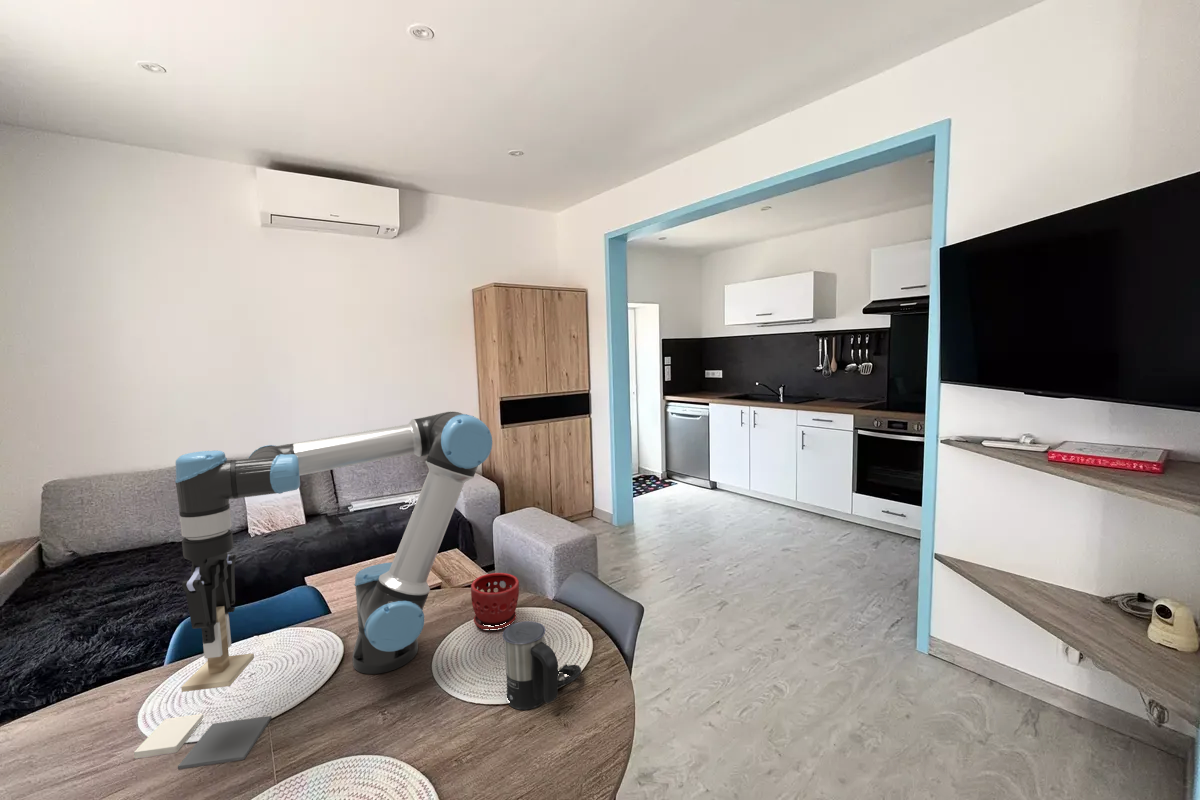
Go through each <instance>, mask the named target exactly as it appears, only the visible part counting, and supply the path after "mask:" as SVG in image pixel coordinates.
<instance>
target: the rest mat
mask: <svg viewBox="0 0 1200 800" xmlns="http://www.w3.org/2000/svg"><path fill="white" fill-rule="evenodd" d="M271 720H272V715H267V716H261V717H260V716H259V717H258V716H257V717H252V718H245V719H238V720H230V721H223V722H217V723H216V722H215V723H212V724H211V725H210V726H209V727H208V728H207V730H206V731H205V732H204V733H203V735H202V736H201V737H200V739H199V740H198V741H197V742H196V743H195V745H194V746H193V747H192V748H191V750H190V751H189V752H188V753H187V754H186V755H185V757H184V758H183V759H182V761H180V762H179V765H177V769H178V770H183V769H189V768H197V767H202V766H203V767H204V766H210V765H216V764H217V765H218V764H222V763H223V764H224V763H229V762H236V761H237V762H239V761H243V760H245V759H246V757H247V756H248V755H249V753H250V752H251V750H252V748H253V747H254V746H255V745H256V743H257V741H258V740H259V738H260V736H261V735H262V733H263V731H264V730H265V729H266V727H267V726H268V725H269V723H270V721H271Z"/></svg>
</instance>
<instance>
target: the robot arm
mask: <svg viewBox="0 0 1200 800" xmlns="http://www.w3.org/2000/svg"><path fill="white" fill-rule="evenodd" d="M492 449H493V436H492V433H491V430H490V429H489V427H488V426H487V425H486V423H485V422H483V421H482V420H480V419H479V418H478V417H476V416H474V415H470V414H466V413H461V412H460V411H459V412H458V411H445V412H440V413H437V414H432V415H428V416H424V417H419V418H414V419H413V418H412V419H411V420H410V421H409V423H407V424H401V425H397V426H396V425H395V426H390V427H383V428H377V429H372V430H366V431H365V430H364V431H359V432H353V433H347V434H340V435H334V436H329V437H323V438H317V439H310V440H305V441H299V442H294V443H288V444H281V445H274V444H269V445H263V446H259V448H257V449H255V450H254V451H253V452H252V453H250V455H249V456H248V458H241V459H227V457H226V453H225V452H224V451H222V450H202V451H193V452H188V453H185V454H182V455H180V456H179V457H177V458H176V460H175V480H174V481H175V487H176V494H177V495H176V496H177V501H178V502H177V503H178V511H179V512H178V513H179V520H178V521H179V523H180V531H181V536H182V537H183V539H182V540H181V546H182V555H183V558H184V559H185V560H188V561H190V562H191V563H192V564H191V569H190V570H191V571H190V572H191V576H190V578H189V580H183V581H182V583H181V587H182V589H183V591H184V593H185V597H186V602H187V606H188V612H189V613H188V614H189V618H190V623H191V628H192V629H201V635H202V644H203V645H202V647H203V657H204V659H207V658H213V657H221V656H222V655H223V653H222V642H221V632H220V622H216V607H220V606H224V609H225V620H226V631H227V642H228V649H229V648H230V647H232V637H231V626H230V625H231V624H230V616H229V613H233V612H235V610H236V606H234V605H235V604H236V585H235V584H236V579H235V577H236V576H235V570H236V569H235V566H236V558H237V556H236V554H228V553H229V552H231V551H232V550H233V548H234V539H233V537H234V536H233V531H232V530H231V528H232V526H233V525H232V515H231V508H230V506H231V505H230V500H235V499H241V498H242V499H243V498H252V497H259V496H267V495H273V494H274V495H276V494H280V495H281V494H283V493H288V492H292V491H296V490H298V489H299V488H300V486H301V479H300V478H301V476H305V475H310V474H315V473H320V472H326V471H331V470H336V469H337V470H338V469H341V468H346V467H352V466H356V465H357V466H358V465H362V464H367V463H373V462H378V461H379V462H380V461H383V460H384V461H385V460H387V459H394V458H399V457H405V456H411V455H415V456H416V457H418V458H419V457H425V456H427V457H426V459H425V464H426V466H427V468H428V473H427V476H426V478H425V480H424V483H423V485H422V488H421V490H420V493H419V495H418V498H417V500H416V503H415V505H414V507H413V509H412V510H413V511H412V512H411V515H410V518H409V519H408V523H407V526H406V528H405V530H404V532H403V535H402V539H401V540H400V543H399V545H398V548H397V551H396V553H395V556H394V558H393V560H392V562H382V563H378V564H373V565H369V566H368V567H365V568H363V569H361V570H359V571H358V572H357V573H356V574H355V578H354V580H355V581H354V587H355V598H356V599H355V600H356V613H357V622H358V623H357V624H358V627H357V628H358V629H357V630H358V632H357V633H358V634H357V638H356V639H355V640H356V641H355V644H354V648H353V651H352V666H353V669H354V670H356V671H357V672H358V673H361V674H366V675H375V674H376V675H377V674H383V673H389V672H391V671H395V670H397V669H399V668H401V667H403V666H404V665H407V664H408V663H410V661H412V660H413V659H414V658H415V657H416V656H417V654H418V651H419V643H418V641H419V640H418V638H419V636H420V635H421V634H422V632H423V629H424V626H425V625H424V624H425V613H424V606H425V605H426V602H427V600H428V596H429V593H430V591H431V588H430V587H429V586H430V585H429V584H428V582H427V580H428V578H429V576H430V572H431V571H432V568H433V566H434V562H435V560H436V557H437V555H438V553H439V552H438V551H439V549H440V547H441V544H442V542H443V539H444V536H445V534H446V532H447V529H448V526H449V524H450V521H451V518H452V516H453V514H454V511H455V508H456V506H457V503H458V500H459V498H460V495H461V493H462V490H463V488H464V485H465V484H466V483H467V481H470V480H472V479H474V477H475V475H476V472H477V470H478V467H479V466H480V465H482V464H483V463H484V462H486V460H487V459H488V458H489V456H490V454H491V451H492ZM231 606H232V607H231Z"/></svg>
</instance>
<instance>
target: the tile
mask: <svg viewBox="0 0 1200 800" xmlns="http://www.w3.org/2000/svg"><path fill="white" fill-rule="evenodd" d="M203 718H204V713H197V714H192V715H191V714H190V715H184V716H177V717H170V718H164V720H163V721H162V722H160V724H159V725H158V726H157V727H156V728H155V729H154V730H153V731H152V732H151V734H150V735H148V737H147V738H145V740H144V741H143V742H142V743H140V745H139V746H138V747H137V749H135V750H134V751H133V758H134V760H136V759H143V758H144V759H145V758H149V757H156V756H161V755H162V756H163V755H164V756H165V755H168V754H169V755H170V754H177V753H178V752H179V750H180V749H181V748H182V747H183V745H184V744H185V743H186V742H187V741H188V740H189V738H190V737H191V736H192V735H193V733H194V732H195V731H194V729H196V727H197V726H198V724H199V723H200V722H201V721H202V719H203ZM204 719H205V718H204ZM202 722H203V721H202ZM202 722H201V723H202ZM198 727H199V726H198ZM198 727H197V728H198ZM196 730H197V729H196ZM193 731H194V732H193ZM191 734H192V735H191ZM190 735H191V736H190Z"/></svg>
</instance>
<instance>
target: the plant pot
mask: <svg viewBox="0 0 1200 800" xmlns="http://www.w3.org/2000/svg"><path fill="white" fill-rule="evenodd" d="M501 582H504V583H505V587H502V586H501ZM488 583H489V585H488V586H487V584H488ZM495 583H496V584H495ZM519 583H520V581H519V579H518V577H517V576H515V575H513V574H510V573H505V572H492V573H487V574H483V575H480V576H478V577H476V578H475V579H474V580H473V581H472V583H471V584H470V598H471V604H472V609H473V612H474V617H473V623H474V625H475V626H476V627H477V628H478V627H479V629H480V628H481V629H480V630H482V629H489V630H490V629H498V628H503V627H505V626H507V625H509V624H511V623H512V622H513V621H514V620H516V619H517V612H516V609H517V606H518V602H519V594H520V584H519ZM495 589H497V591H494V590H495ZM481 590H482V591H481ZM488 591H489V592H488ZM505 622H506V623H505ZM514 622H515V621H514ZM514 622H513V623H514ZM503 623H505V624H503ZM513 623H512V624H513ZM483 624H484V625H491V626H494V627H488V626H484V625H483ZM500 624H503V625H500ZM512 624H511V625H512ZM495 625H499V626H495Z"/></svg>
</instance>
